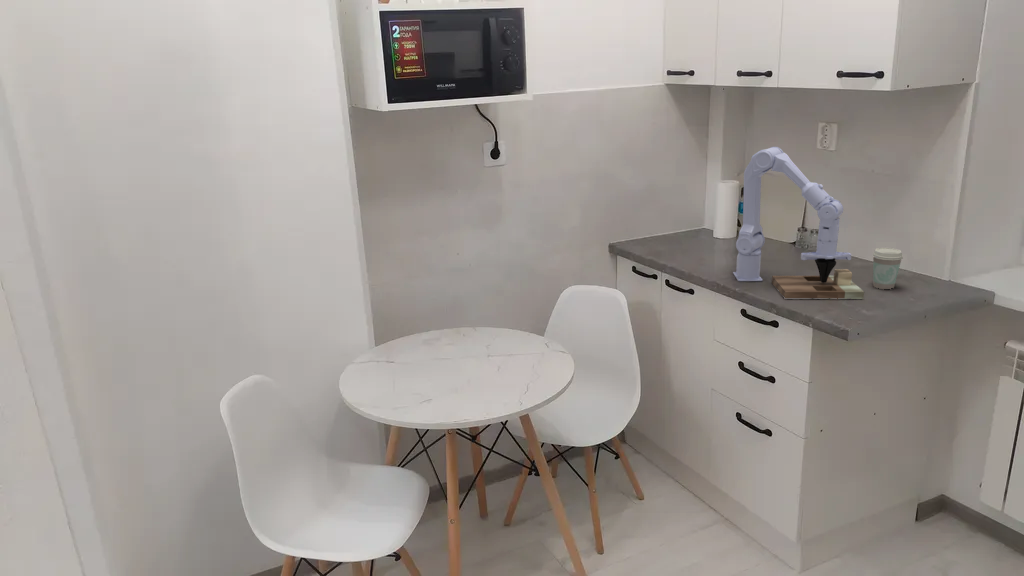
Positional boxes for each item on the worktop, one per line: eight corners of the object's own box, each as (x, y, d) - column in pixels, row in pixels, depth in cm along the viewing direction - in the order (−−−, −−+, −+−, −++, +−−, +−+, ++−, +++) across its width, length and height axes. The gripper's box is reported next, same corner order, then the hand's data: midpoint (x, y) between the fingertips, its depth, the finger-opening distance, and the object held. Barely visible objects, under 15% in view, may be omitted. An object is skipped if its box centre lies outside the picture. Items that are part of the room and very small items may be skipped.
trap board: (771, 283, 234) (772, 275, 234) (844, 282, 232) (845, 275, 231) (784, 299, 218) (785, 292, 218) (863, 299, 216) (864, 291, 215)
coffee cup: (864, 287, 227) (868, 251, 223) (874, 281, 232) (878, 245, 228) (893, 292, 221) (898, 255, 217) (902, 286, 226) (907, 250, 223)
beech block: (833, 281, 226) (834, 269, 224) (846, 281, 225) (847, 269, 224) (837, 285, 222) (838, 273, 221) (850, 285, 221) (852, 272, 220)
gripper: (807, 243, 217) (802, 285, 221) (856, 242, 215) (851, 285, 219) (800, 237, 223) (796, 278, 228) (848, 237, 222) (843, 278, 226)
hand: (823, 281), depth 224 cm, fingers closed
